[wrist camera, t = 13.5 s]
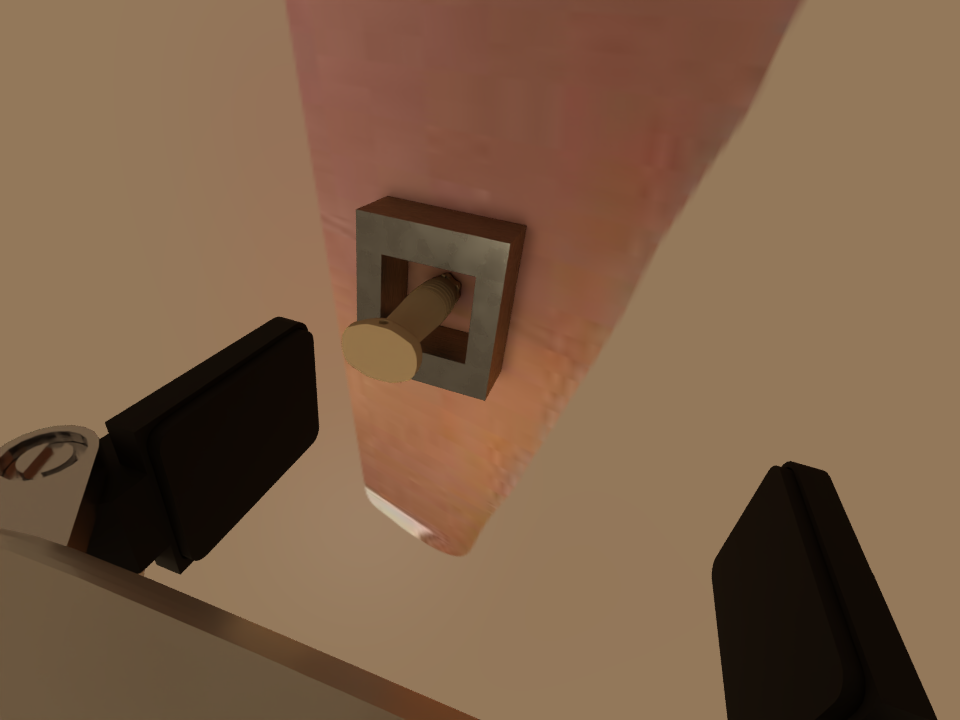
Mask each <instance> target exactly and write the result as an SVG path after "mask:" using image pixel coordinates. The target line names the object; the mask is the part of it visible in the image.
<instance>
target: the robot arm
mask: <svg viewBox="0 0 960 720" xmlns="http://www.w3.org/2000/svg"><path fill="white" fill-rule="evenodd" d="M105 424H106V427H107V429H108V432H109V434H107V435H106V436H104V437H102V438H101V439H99V437H98V436H97V435H96V433H95V432H94V431H92V430H90V429H88V428H86V427H81V426H75V425H67V426H66V425H65V426H53V427H48V428H43V429H39V430H36V431H33V432H30V433H27V434H24V435H22V436H20V437H18V438H16V439H14V440H12V441H10V442H8V443H6V444H4V445H3V446H2V447H0V720H479V719H477V718H475V717H473V716H470V715H468V714H466V713H463V712H460V711H459V710H456V709H454V708H452V707H449V706H447V705H445V704H442V703H440V702H438V701H435V700H433V699H431V698H428V697H426V696H424V695H421V694H419V693H416V692H414V691H412V690H410V689H407V688H405V687H403V686H400V685H398V684H396V683H393V682H391V681H389V680H386V679H384V678H382V677H379V676H377V675H375V674H373V673H370V672H368V671H365V670H363V669H361V668H359V667H356V666H354V665H352V664H349V663H347V662H344V661H342V660H340V659H337V658H335V657H333V656H330V655H328V654H326V653H323V652H321V651H318V650H316V649H314V648H312V647H309V646H307V645H305V644H302V643H300V642H298V641H295V640H293V639H291V638H288V637H286V636H284V635H281V634H279V633H276V632H274V631H272V630H269V629H267V628H265V627H262V626H260V625H258V624H255V623H253V622H250V621H248V620H246V619H243V618H241V617H239V616H236V615H234V614H232V613H229V612H227V611H224V610H222V609H220V608H217V607H215V606H212V605H210V604H208V603H205V602H203V601H201V600H199V599H196V598H194V597H191V596H189V595H187V594H184V593H182V592H179V591H177V590H175V589H172V588H170V587H168V586H165V585H163V584H161V583H158V582H156V581H154V580H151V579H148V578H146V577H144V571H145V568H147V567H148V566H149V565H150V564H151V563H152V562H153V561H154V560H155V561H156V564H157V565H159V566H161V567H164V568H166V569H168V570H171V571H173V572H175V573H178V574H181V573H182V572H183V571H184V570H185V569H186V568H187V567H188V566H189V565H190V564H191V563H192V562H193V561H194V560H195V561H198V560H200V559H202V558H204V557H205V556H206V555H207V554H208V553H209V552H210V551H211V550H212V549H213V548H214V547H215V546H216V545H217V544H218V543H219V542H220V540H221V539H223V537H224V536H225V535H226V534H227V533H228V532H229V531H230V530H231V529H232V528H233V527H234V526H235V525H236V524H237V523H238V522H239V521H240V519H242V517H243V516H244V515H245V514H246V513H247V512H248V511H249V510H250V509H251V508H252V507H253V506H254V505H255V504H256V503H257V502H258V501H259V500H260V499H261V497H262V496H263V495H264V494H265V493H266V492H267V491H268V490H269V489H270V488H271V487H272V486H273V485H274V483H276V482H277V480H279V478H280V477H281V476H282V475H283V474H284V473H285V472H286V471H287V470H288V469H289V468H290V467H291V466H292V465H293V464H294V463H295V462H296V461H297V460H298V459H299V458H300V456H301V455H302V454H303V453H304V452H305V451H306V450H307V449H308V448H309V447H310V446H311V445H312V444H313V442H314V441H315V439H316V438H317V435H318V431H319V419H318V404H317V388H316V372H315V357H314V341H313V335H312V334H311V333H310V332H308V329H307V327H306V325H305V324H303V323H301V322H297V321H294V320H290V319H287V318H283V317H276V318H273V319H272V320H270V321H268V322H267V323H265V324H264V325H262V326H260V327H259V328H257V329H255V330H254V331H252V332H251V333H249V334H247V335H246V336H244V337H243V338H241V339H239V340H238V341H236V342H235V343H233V344H231V345H229V346H228V347H226V348H225V349H223V350H221V351H220V352H218V353H217V354H215V355H213V356H212V357H210V358H209V359H207V360H205V361H204V362H202V363H200V364H199V365H197V366H195V367H194V368H192V369H191V370H189V371H187V372H186V373H184V374H183V375H181V376H180V377H178V378H176V379H174V380H173V381H171V382H170V383H168V384H166V385H165V386H163V387H161V388H160V389H158V390H157V391H155V392H153V393H152V394H150V395H149V396H147V397H145V398H144V399H142V400H141V401H139V402H137V403H136V404H134V405H132V406H131V407H129V408H128V409H126V410H124V411H123V412H121V413H120V414H118V415H116V416H114V417H113V418H111V419H110V420H108V421H106V422H105ZM712 584H713V593H714V602H715V611H716V620H717V629H718V637H719V647H720V656H721V665H722V672H723V673H722V674H723V682H724V691H725V700H726V709H727V718H728V720H937V718H936V716H935V713H934V711H933V708H932V706H931V704H930V702H929V699H928V697H927V695H926V693H925V690H924V688H923V686H922V683H921V681H920V679H919V677H918V674H917V672H916V670H915V668H914V665H913V663H912V661H911V659H910V656H909V654H908V652H907V650H906V647H905V645H904V643H903V640H902V638H901V636H900V634H899V631H898V629H897V627H896V624H895V622H894V620H893V618H892V616H891V613H890V611H889V609H888V606H887V604H886V602H885V600H884V597H883V595H882V593H881V591H880V588H879V586H878V584H877V581H876V579H875V577H874V575H873V573H872V571H871V569H870V567H869V564H868V562H867V560H866V558H865V555H864V553H863V551H862V549H861V546H860V544H859V542H858V539H857V537H856V535H855V533H854V531H853V528H852V526H851V524H850V521H849V519H848V517H847V515H846V512H845V510H844V508H843V506H842V503H841V501H840V499H839V496H838V494H837V492H836V489H835V487H834V485H833V483H832V480H831V478H830V476H829V475H828V473H827V472H825V471H823V470H820V469H816V468H813V467H809V466H806V465H802V464H799V463H795V462H792V461H790V462H786V463H785V464H783V466H782V467H779V466H773V467H771V468H770V470H769V471H768V473H767V474H766V476H765V478H764V479H763V481H762V483H761V484H760V486H759V488H758V489H757V491H756V492H755V494H754V496H753V497H752V499H751V501H750V502H749V504H748V506H747V507H746V509H745V510H744V512H743V514H742V516H741V517H740V519H739V521H738V522H737V524H736V525H735V527H734V529H733V530H732V532H731V533H730V535H729V537H728V538H727V540H726V542H725V543H724V545H723V547H722V548H721V550H720V552H719V553H718V555H717V556H716V558H715V560H714V563H713V568H712Z"/></svg>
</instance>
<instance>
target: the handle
mask: <svg viewBox="0 0 960 720" xmlns="http://www.w3.org/2000/svg"><path fill="white" fill-rule="evenodd" d="M460 288H461V284H460V282H458V281H456V280H455V279H454V278H453V277H452V275H451V274H449V273H444V274H442V275H441V276H440V277H434V278H432V279H430V280H428V281H426V282H425V283H423V284H421V285H420V286H418V287H417V288H416V289H415V290H414V291H412V292H411V293H410V294H409V295H408V296H407V297H406V298H405V299H404V300H403V301H402V303H401V304H400V305H399V306H398V307H397V308H396V309H395V310H394V311H393V312H392V313H391V314H390V315H389V316H388V317H387V318H370V319H364V320H360V321H356V322H354V323H352V324H351V325H350V326H348V327H347V328H346V329H345V331H344V333H343V335H342V351H343V354H344V357H345V359H346V360H347V362H348V363H349V364H350V365H351V366H353V367H354V368H355V369H357V370H358V371H360V372H361V373H363V374H364V375H366V376H368V377H370V378H373V379H377V380H380V381H384V382H389V383H396V382H403V381H409V380H411V379H412V378H413V376H414V375H415V374H416V373H417V371H418V370H419V368H420V366H421V363H422V348H421V345H420V342H421V341H422V340H423V339H424V338H425V337H426V336H427V335H429V334H430V333H431V332H432V331H433V330H434V329H435V328H436V327H438V326H439V325H440V324H441V323H442V322H443V321H444V320H445V318H446V317H447V316H448V315H449V313H450V312H451V310H452V309H453V307H454V305H455V303H456V302H457V301H458V300H459V298H460V294H459V290H460Z"/></svg>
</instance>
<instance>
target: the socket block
mask: <svg viewBox="0 0 960 720" xmlns="http://www.w3.org/2000/svg"><path fill="white" fill-rule="evenodd" d="M526 227H527V226H526V225H521V224H516V223H511V222H507V221H502V220H497V219H493V218H488V217H483V216H479V215H474V214H469V213H465V212H460V211H455V210H451V209H446V208H441V207H437V206H432V205H427V204H423V203H418V202H413V201H409V200H404V199H399V198H394V197H390V196H387V197H384V198H382V199H379V200H377V201H375V202H372V203H370V204H368V205H365V206H363V207H361V208H358V209H356V254H357V321H360V320H364V319H370V318H387V317H388V316H389V315H390V314H391V313H392V312H393V311H394V310H395V309H396V308H397V307H398V306H399V305H400V304H401V303H402V301H403V300H404V299H405V298H406V297H407V280H408V261H412V262H416V263H420V264H424V265H429V266H433V267H437V268H441V269H445V270H449V271H454V272H458V273H462V274H466V275H470V276H474V277H476V282H475V290H474V298H473V306H472V313H471V321H470V329H469V333H466V332H462V331H458V330H454V329H451V328H447V327H443V326H438V327H436V328H435V329H434V330H433V331H432V332H431V333H430V334H429V335H427V336H426V337H425V338H424V339H423V340H422V341H421V342H420V345H421V348H422V363H421V366H420V368H419V370H418V371H417V373H416V374H415V375H414V376H413V378H412V380H416V381H419V382H422V383H426V384H429V385H433V386H436V387H440V388H443V389H446V390H450V391H453V392H457V393H460V394H464V395H467V396H470V397H474V398H477V399H481V400H484V401H485V400H486V398H487V396H488V394H489V392H490V391H491V389H492V387H493V385H494V383H495V381H496V379H497V378H498V376H499V374H500V372H501V369H502V363H503V357H504V352H505V346H506V340H507V335H508V329H509V323H510V318H511V312H512V306H513V301H514V295H515V289H516V283H517V278H518V272H519V266H520V261H521V255H522V249H523V244H524V238H525V232H526Z"/></svg>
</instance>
